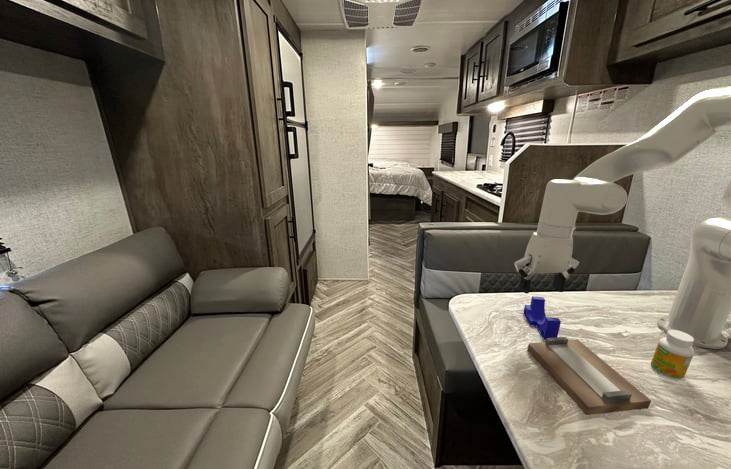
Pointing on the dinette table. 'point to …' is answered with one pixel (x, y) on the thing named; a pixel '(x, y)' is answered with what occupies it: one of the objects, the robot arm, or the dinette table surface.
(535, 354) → the rail board
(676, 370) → the supplement bottle
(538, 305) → the blue curved piece
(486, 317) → the dinette table surface
